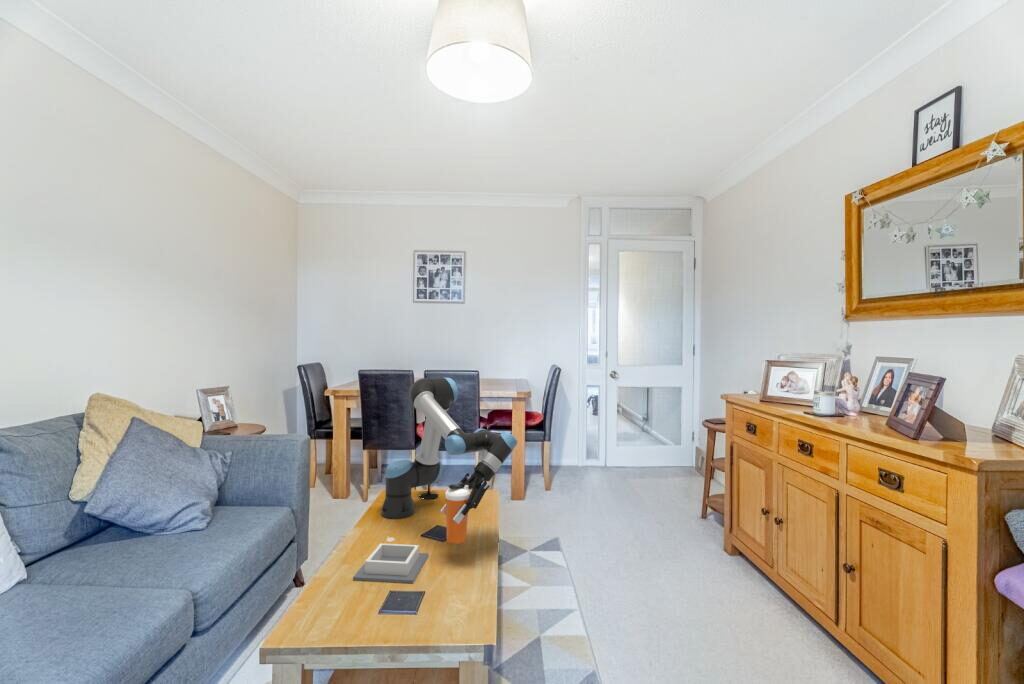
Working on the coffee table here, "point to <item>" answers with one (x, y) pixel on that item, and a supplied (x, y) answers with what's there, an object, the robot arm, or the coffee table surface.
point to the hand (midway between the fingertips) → (449, 517)
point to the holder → (393, 564)
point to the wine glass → (428, 495)
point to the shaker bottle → (454, 503)
